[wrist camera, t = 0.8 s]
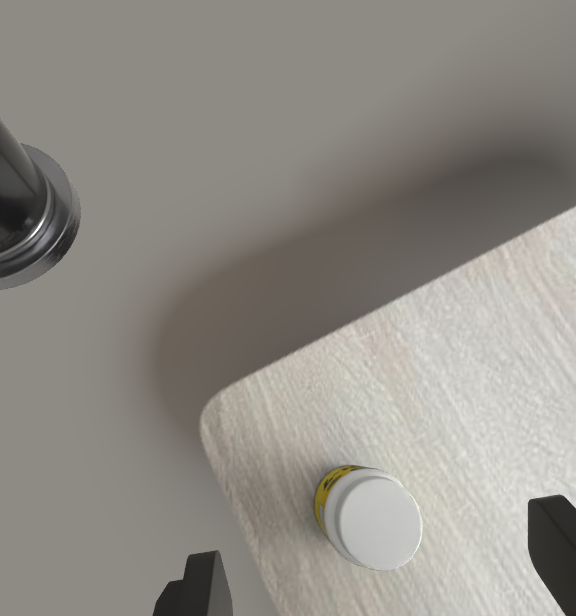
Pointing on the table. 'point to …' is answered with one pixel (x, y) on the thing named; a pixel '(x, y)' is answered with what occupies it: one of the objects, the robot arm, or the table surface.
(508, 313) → the table surface
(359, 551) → the supplement bottle
